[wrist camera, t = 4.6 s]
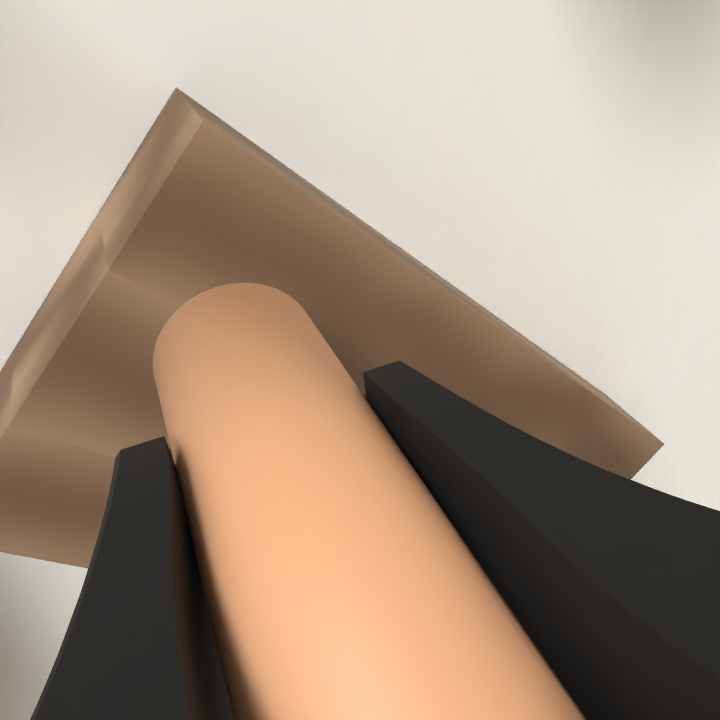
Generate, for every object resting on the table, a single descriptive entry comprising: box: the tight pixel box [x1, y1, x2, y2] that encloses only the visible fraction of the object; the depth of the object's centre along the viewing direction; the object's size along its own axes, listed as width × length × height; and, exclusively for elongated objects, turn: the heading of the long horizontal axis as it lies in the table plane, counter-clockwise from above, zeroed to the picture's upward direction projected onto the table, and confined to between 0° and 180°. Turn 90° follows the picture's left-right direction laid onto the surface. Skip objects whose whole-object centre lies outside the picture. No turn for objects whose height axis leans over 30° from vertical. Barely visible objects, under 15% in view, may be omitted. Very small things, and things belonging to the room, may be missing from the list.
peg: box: [153, 283, 586, 720], centre depth 8 cm, size 3×3×9 cm
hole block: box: [0, 88, 664, 568], centre depth 22 cm, size 12×22×4 cm, turn 49°
